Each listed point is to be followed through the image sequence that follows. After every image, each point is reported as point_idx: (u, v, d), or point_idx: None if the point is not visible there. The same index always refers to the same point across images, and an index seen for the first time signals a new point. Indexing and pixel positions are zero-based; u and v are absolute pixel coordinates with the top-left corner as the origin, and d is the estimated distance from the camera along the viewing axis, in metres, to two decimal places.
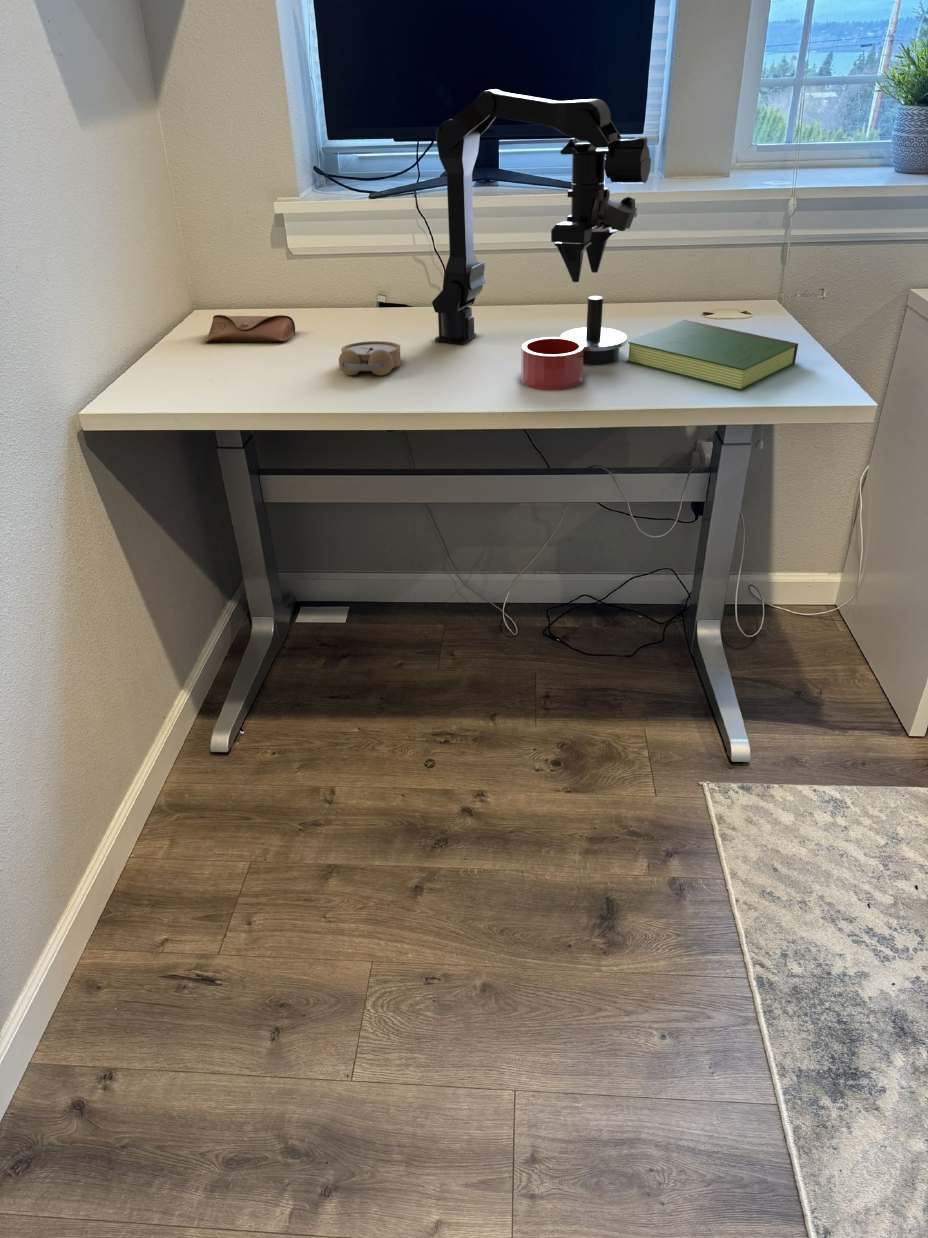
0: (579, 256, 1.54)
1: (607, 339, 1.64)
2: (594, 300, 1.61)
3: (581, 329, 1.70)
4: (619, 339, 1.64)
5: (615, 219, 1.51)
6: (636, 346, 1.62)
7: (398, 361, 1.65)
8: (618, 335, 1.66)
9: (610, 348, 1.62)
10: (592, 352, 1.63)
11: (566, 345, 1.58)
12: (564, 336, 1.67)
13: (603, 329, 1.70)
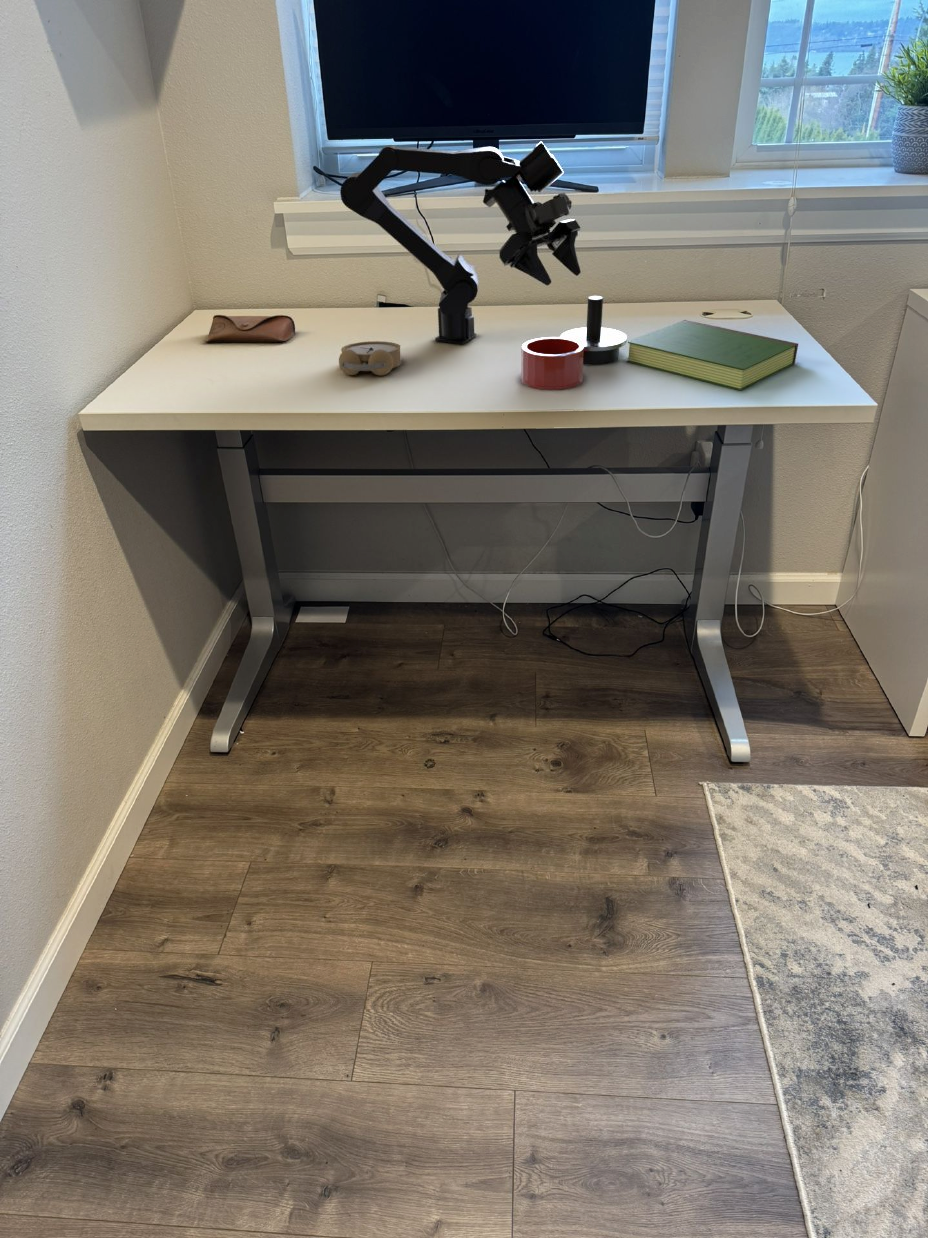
0: (534, 260, 1.60)
1: (607, 339, 1.64)
2: (594, 300, 1.61)
3: (581, 329, 1.70)
4: (619, 339, 1.64)
5: (546, 212, 1.58)
6: (636, 346, 1.62)
7: (398, 361, 1.65)
8: (618, 335, 1.66)
9: (610, 348, 1.62)
10: (592, 352, 1.63)
11: (566, 345, 1.58)
12: (564, 336, 1.67)
13: (603, 329, 1.70)
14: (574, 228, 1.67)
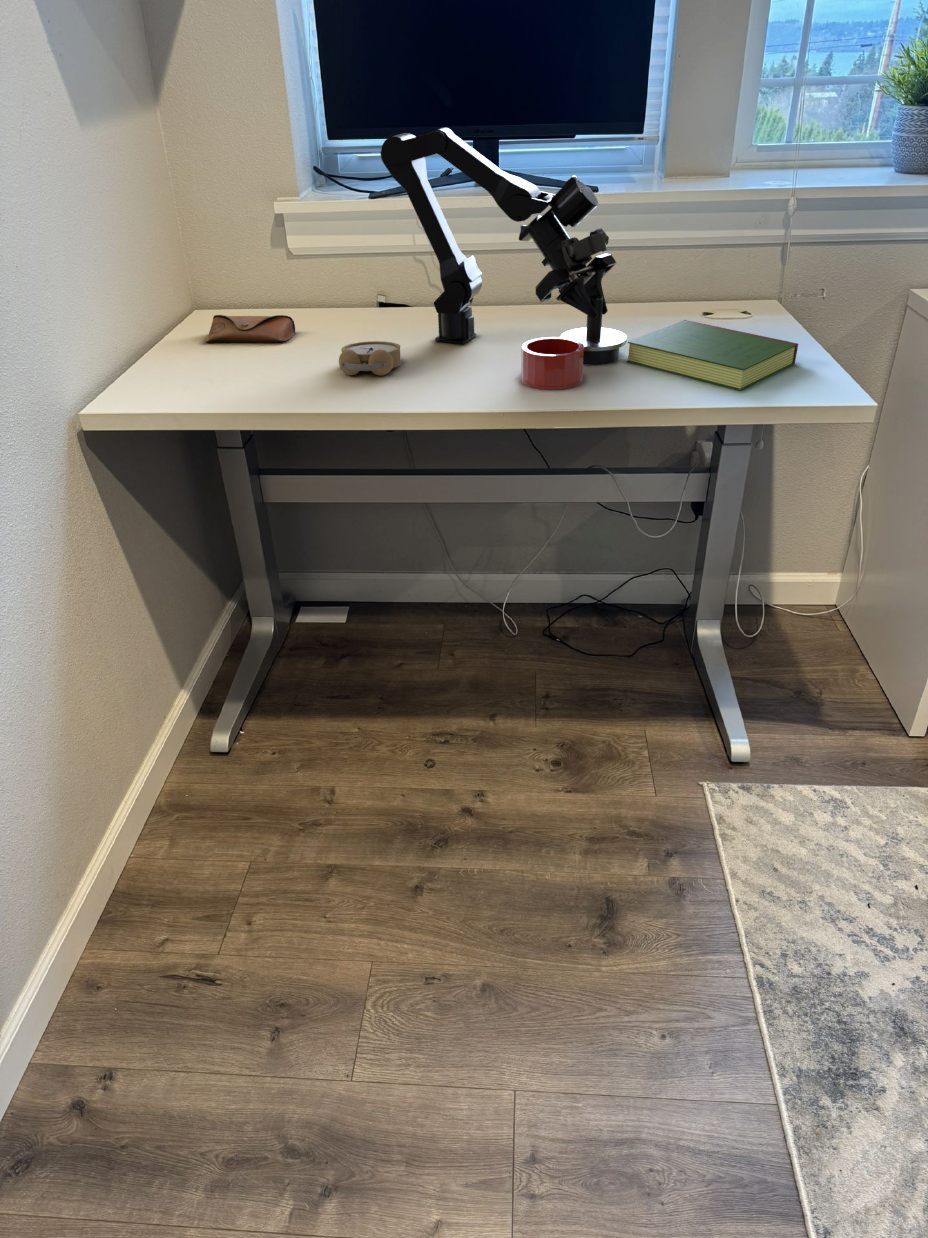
0: (581, 293, 1.60)
1: (607, 339, 1.64)
2: (594, 300, 1.61)
3: (581, 329, 1.70)
4: (619, 339, 1.64)
5: (583, 249, 1.56)
6: (636, 346, 1.62)
7: (398, 361, 1.65)
8: (618, 335, 1.66)
9: (610, 348, 1.62)
10: (592, 352, 1.63)
11: (566, 345, 1.58)
12: (564, 336, 1.67)
13: (603, 329, 1.70)
14: (610, 263, 1.65)
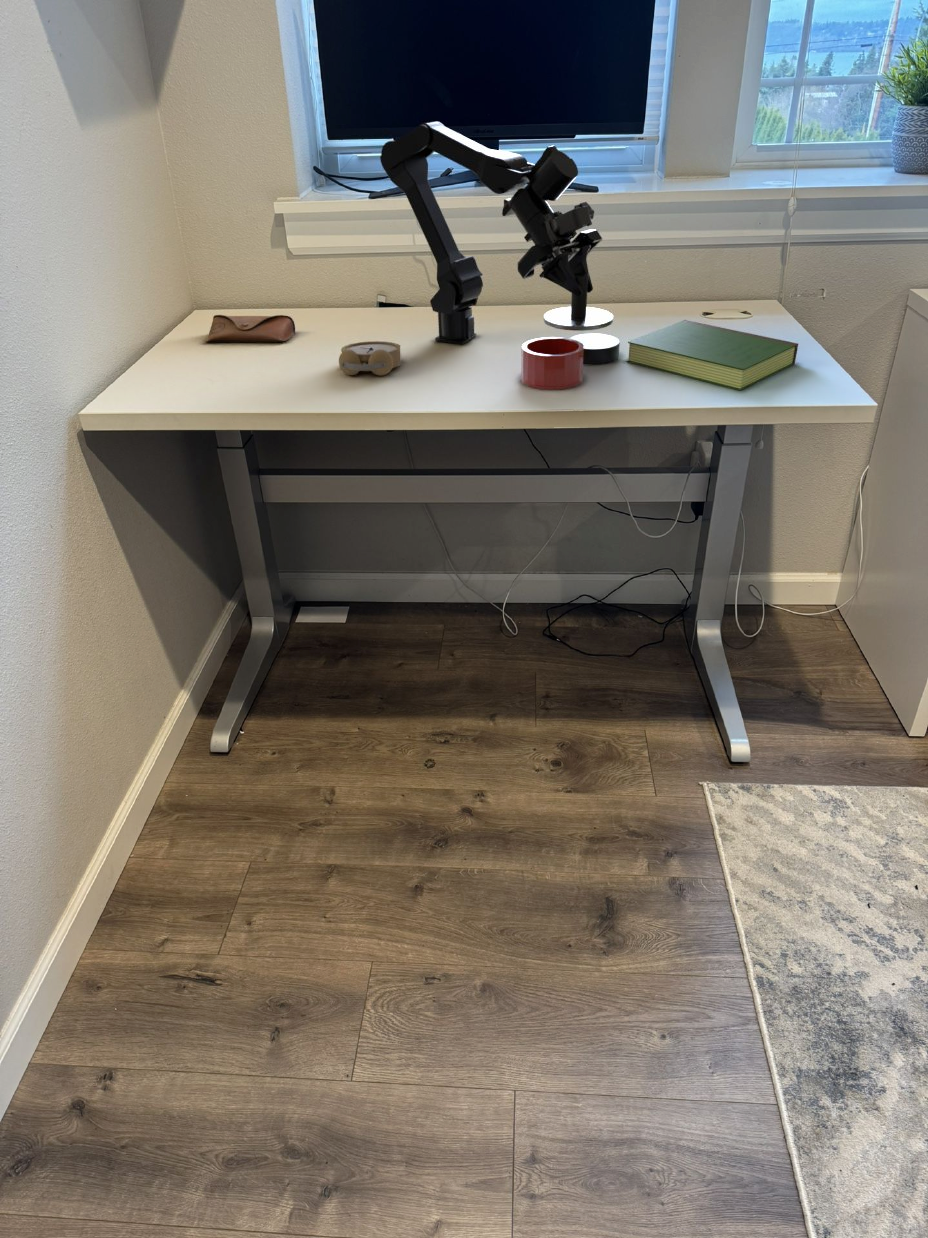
0: (565, 270, 1.53)
1: (592, 318, 1.57)
2: (579, 277, 1.54)
3: (566, 308, 1.63)
4: (605, 318, 1.57)
5: (567, 223, 1.49)
6: (636, 346, 1.62)
7: (398, 361, 1.65)
8: (604, 314, 1.59)
9: (596, 327, 1.55)
10: (592, 352, 1.63)
11: (566, 345, 1.58)
12: (548, 315, 1.60)
13: (588, 308, 1.63)
14: (596, 239, 1.58)
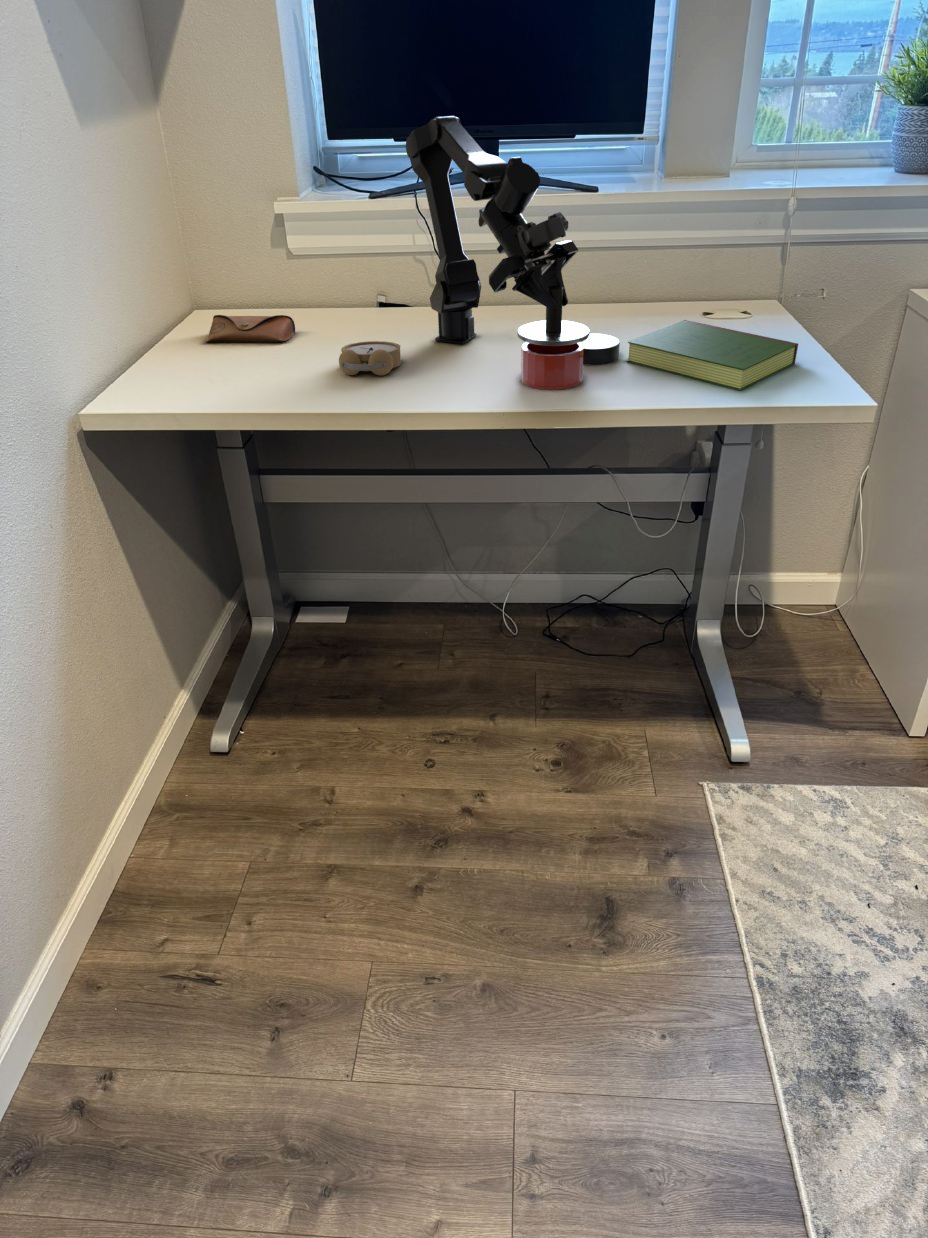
0: (538, 283, 1.47)
1: (568, 333, 1.52)
2: (553, 290, 1.48)
3: (541, 322, 1.58)
4: (580, 333, 1.52)
5: (540, 234, 1.44)
6: (636, 346, 1.62)
7: (398, 361, 1.65)
8: (580, 329, 1.54)
9: (570, 343, 1.49)
10: (592, 352, 1.63)
11: (566, 345, 1.58)
12: (522, 329, 1.54)
13: (565, 322, 1.57)
14: (571, 250, 1.52)
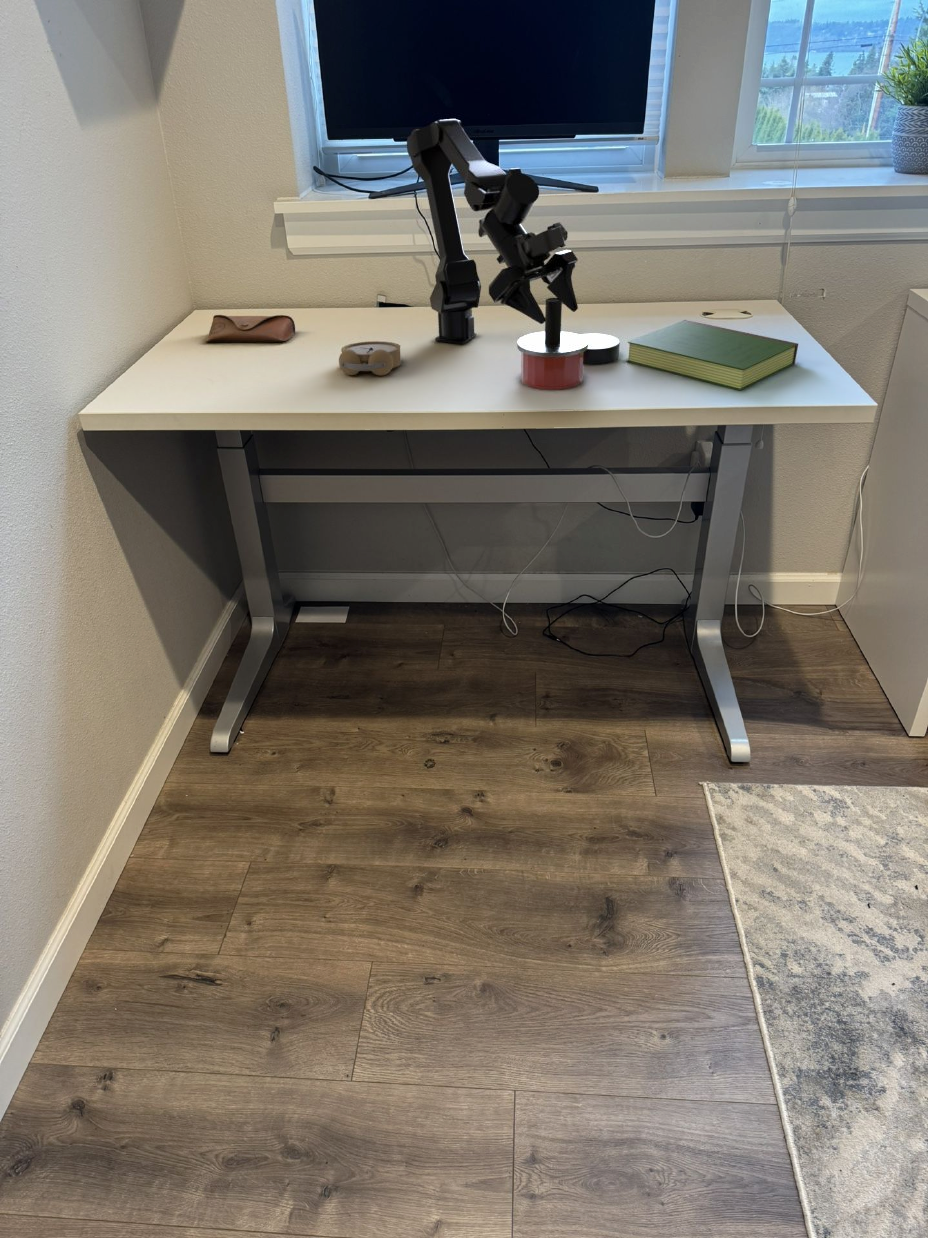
0: (527, 296, 1.46)
1: (567, 344, 1.53)
2: (552, 302, 1.49)
3: (540, 333, 1.59)
4: (579, 344, 1.52)
5: (539, 245, 1.45)
6: (636, 346, 1.62)
7: (398, 361, 1.65)
8: (579, 340, 1.55)
9: (569, 354, 1.50)
10: (592, 352, 1.63)
11: None
12: (522, 340, 1.55)
13: (564, 333, 1.58)
14: (571, 260, 1.53)
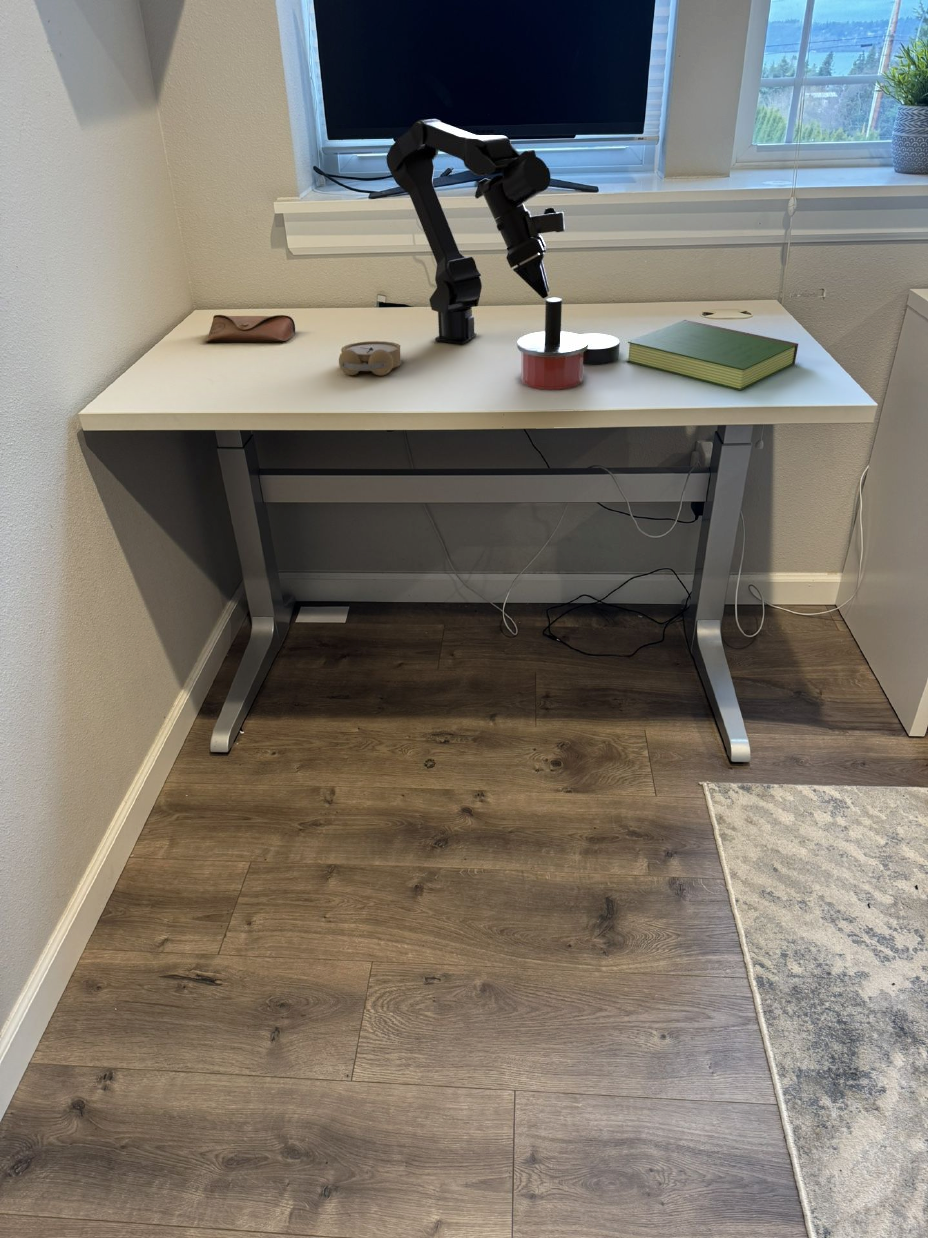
0: (540, 269, 1.53)
1: (567, 344, 1.53)
2: (552, 302, 1.49)
3: (540, 333, 1.59)
4: (579, 344, 1.52)
5: (553, 224, 1.53)
6: (636, 346, 1.62)
7: (398, 361, 1.65)
8: (579, 340, 1.55)
9: (569, 354, 1.50)
10: (592, 352, 1.63)
11: None
12: (522, 340, 1.55)
13: (564, 333, 1.58)
14: (545, 245, 1.64)
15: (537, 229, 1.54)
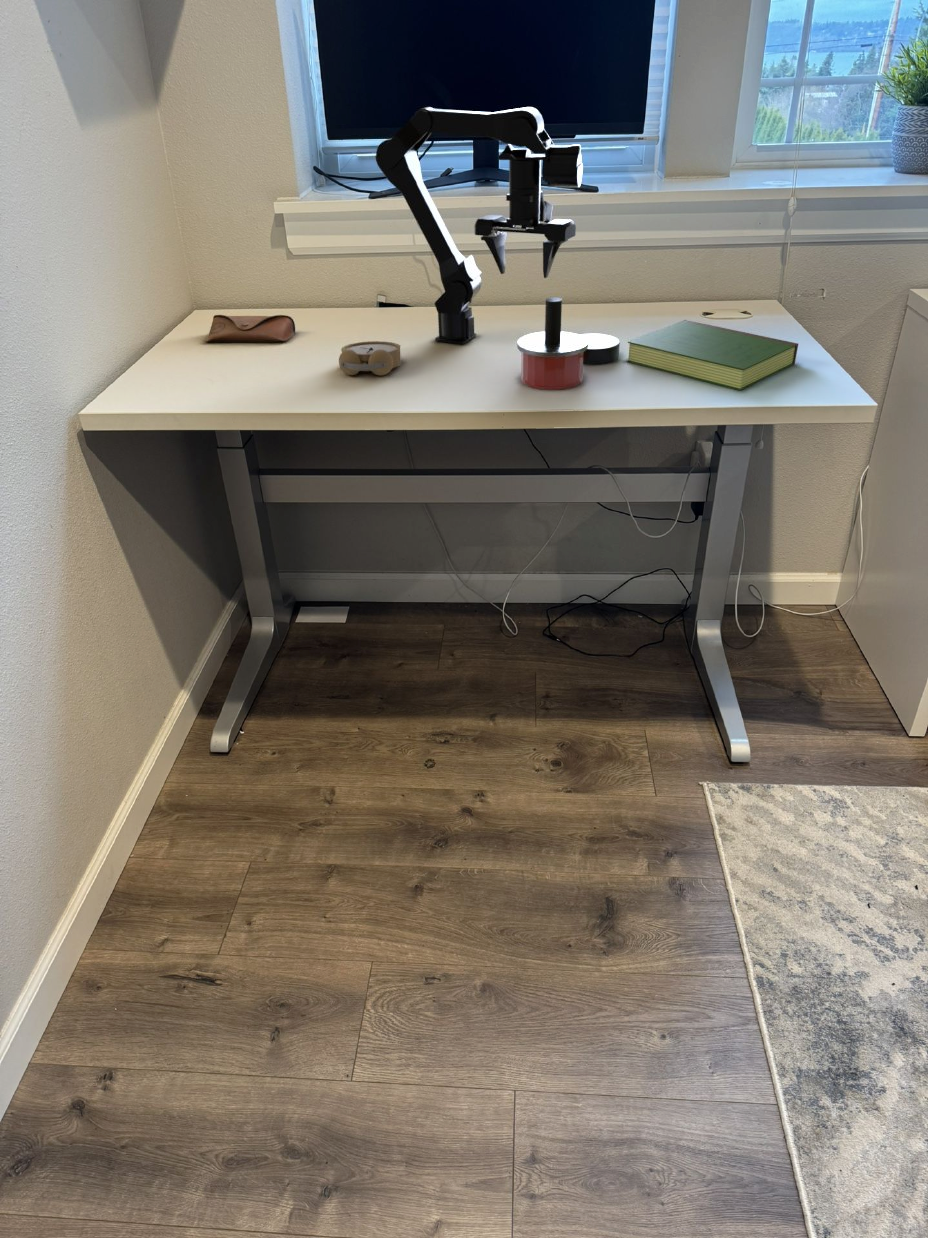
0: (556, 251, 1.65)
1: (567, 344, 1.53)
2: (552, 302, 1.49)
3: (540, 333, 1.59)
4: (579, 344, 1.52)
5: (549, 213, 1.67)
6: (636, 346, 1.62)
7: (398, 361, 1.65)
8: (579, 340, 1.55)
9: (569, 354, 1.50)
10: (592, 352, 1.63)
11: None
12: (522, 340, 1.55)
13: (564, 333, 1.58)
14: None
15: None
